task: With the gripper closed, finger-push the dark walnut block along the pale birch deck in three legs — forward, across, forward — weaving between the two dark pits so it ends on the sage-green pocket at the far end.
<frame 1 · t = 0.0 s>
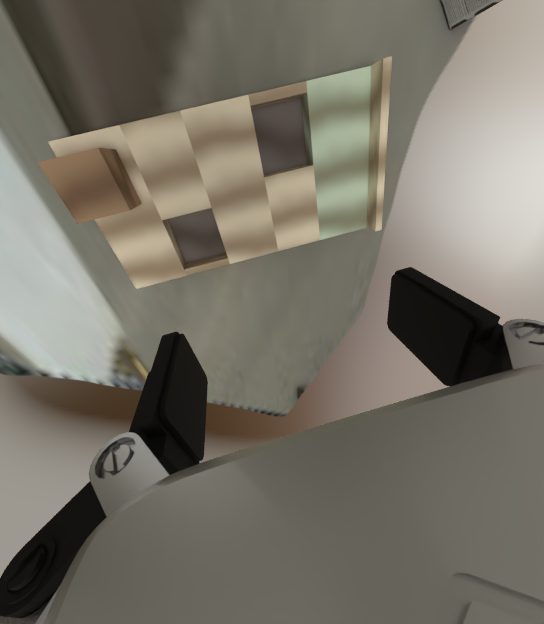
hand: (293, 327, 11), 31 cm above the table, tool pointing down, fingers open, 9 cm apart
trap deck: (236, 190, 35), on the table
walnut block: (105, 184, 29), point 3 cm above the table, touching trap deck
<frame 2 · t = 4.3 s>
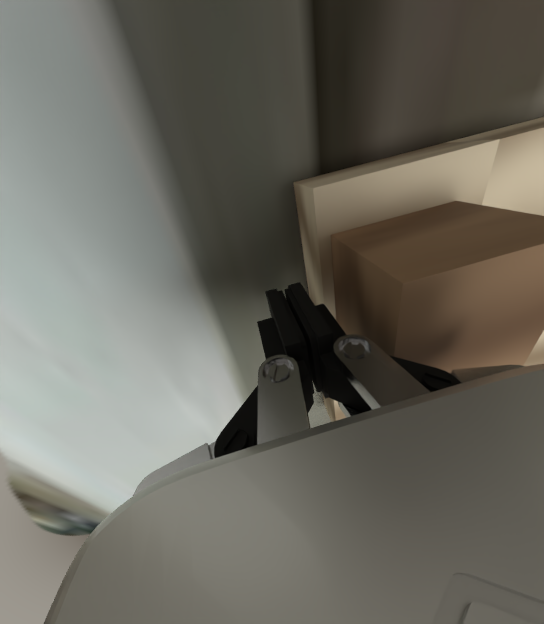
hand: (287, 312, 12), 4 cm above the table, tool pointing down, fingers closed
walnut block: (389, 276, 12), point 3 cm above the table, touching gripper, trap deck
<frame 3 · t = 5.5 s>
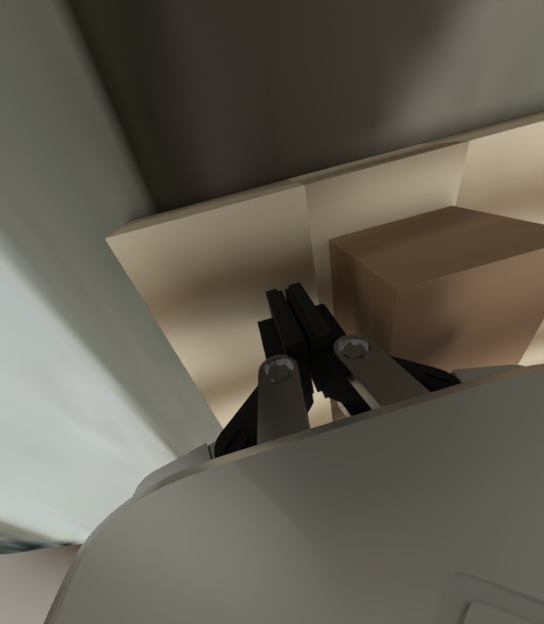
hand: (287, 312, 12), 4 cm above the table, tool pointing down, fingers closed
trap deck: (451, 284, 18), on the table
walnut block: (386, 279, 13), point 3 cm above the table, touching gripper
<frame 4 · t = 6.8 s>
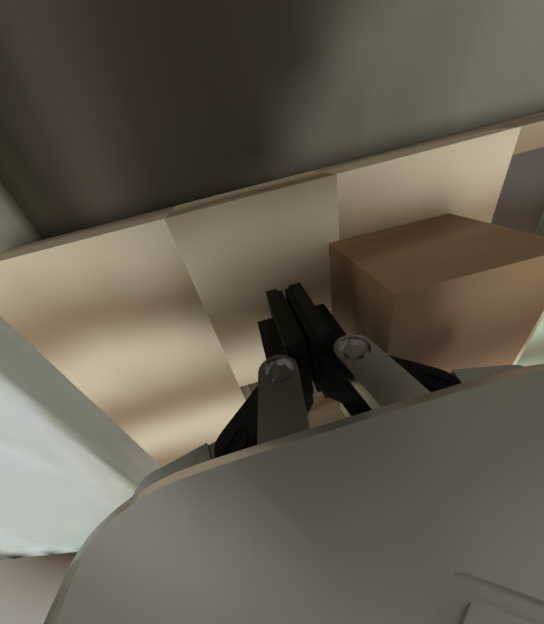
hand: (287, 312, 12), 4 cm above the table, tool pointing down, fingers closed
trap deck: (377, 304, 17), on the table
walnut block: (384, 283, 13), point 3 cm above the table, touching gripper, trap deck
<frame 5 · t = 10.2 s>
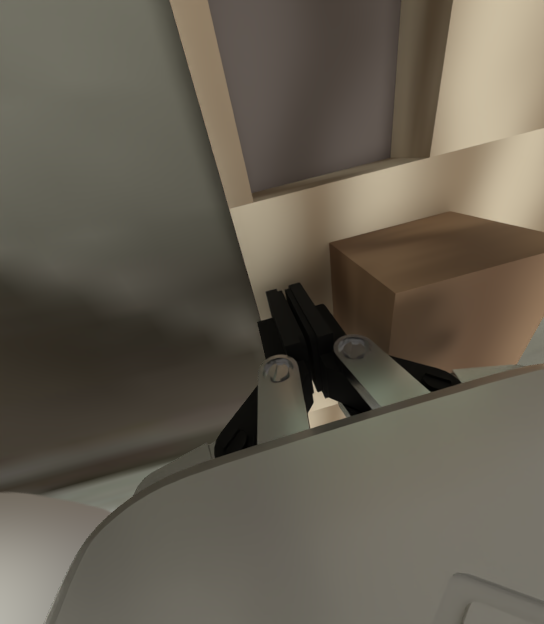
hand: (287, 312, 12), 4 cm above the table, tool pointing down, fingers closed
trap deck: (397, 230, 15), on the table
walnut block: (385, 283, 13), point 3 cm above the table, touching gripper
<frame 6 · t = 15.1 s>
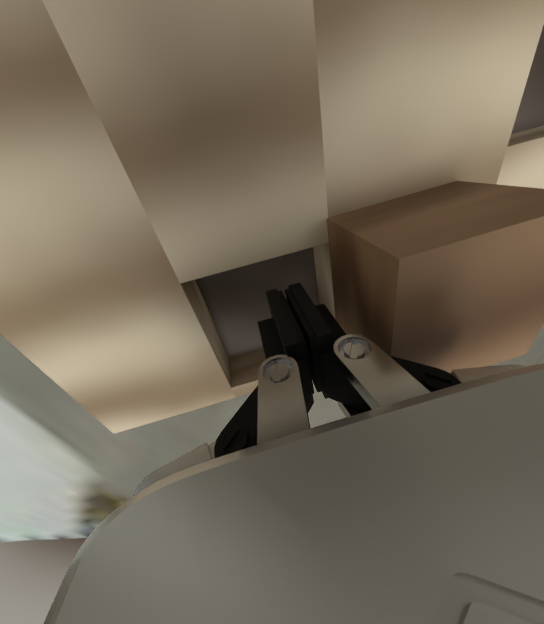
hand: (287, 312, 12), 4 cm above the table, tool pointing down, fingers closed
trap deck: (377, 189, 13), on the table
walnut block: (388, 262, 12), point 3 cm above the table, touching gripper
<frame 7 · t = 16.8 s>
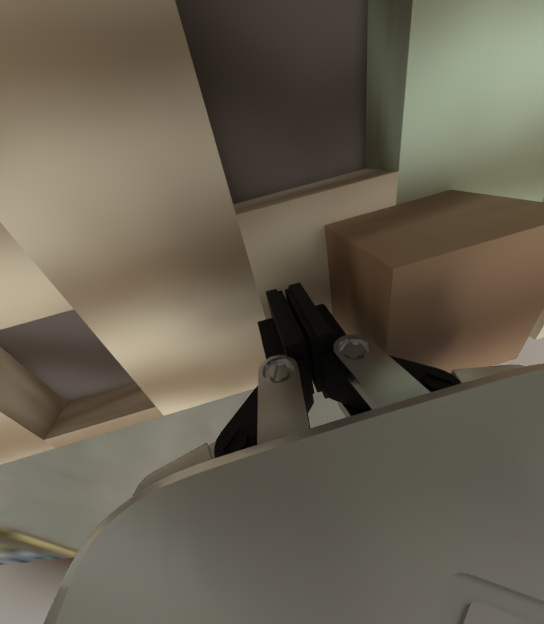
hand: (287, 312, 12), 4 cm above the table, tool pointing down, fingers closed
trap deck: (164, 243, 13), on the table
walnut block: (384, 267, 12), point 3 cm above the table, touching gripper
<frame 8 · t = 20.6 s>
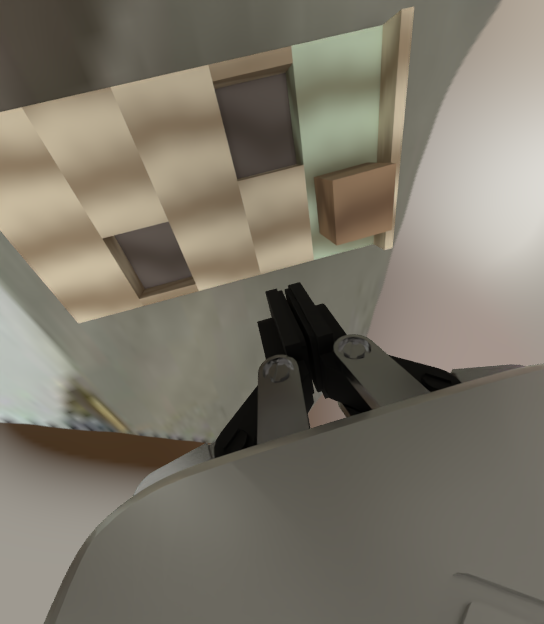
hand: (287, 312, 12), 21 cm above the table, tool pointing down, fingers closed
trap deck: (204, 197, 27), on the table
walnut block: (342, 199, 27), point 3 cm above the table, touching trap deck
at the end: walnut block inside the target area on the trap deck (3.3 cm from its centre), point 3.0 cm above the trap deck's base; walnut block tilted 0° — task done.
